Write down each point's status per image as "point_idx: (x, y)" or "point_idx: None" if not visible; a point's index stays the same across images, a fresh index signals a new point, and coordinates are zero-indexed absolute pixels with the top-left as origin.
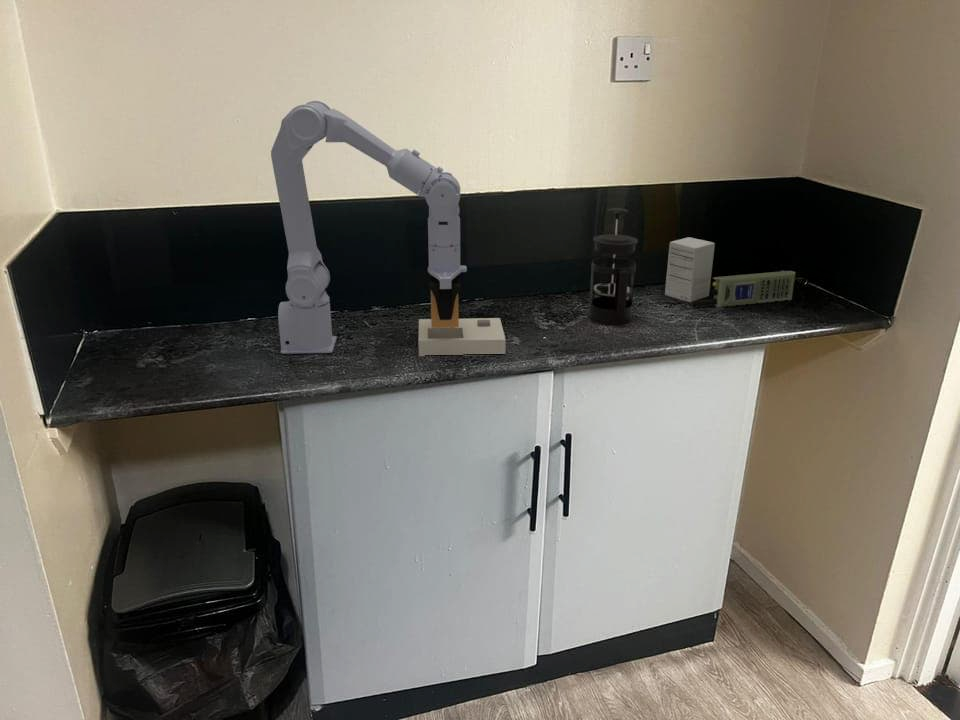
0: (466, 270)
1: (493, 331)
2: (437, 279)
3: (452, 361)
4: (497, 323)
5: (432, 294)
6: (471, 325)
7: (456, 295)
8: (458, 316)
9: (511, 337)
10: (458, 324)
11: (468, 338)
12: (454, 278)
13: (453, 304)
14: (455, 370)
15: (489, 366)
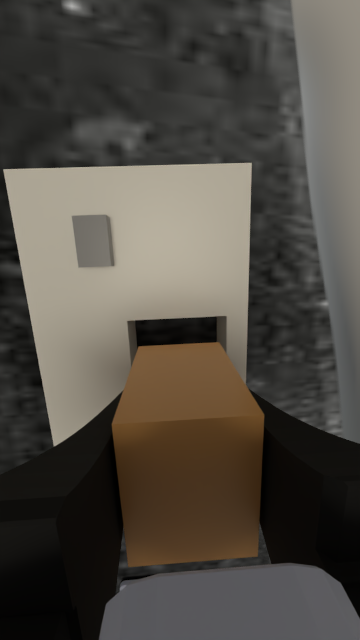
0: (333, 594)
1: (164, 206)
2: (100, 628)
3: (270, 334)
4: (72, 184)
5: (222, 551)
6: (103, 288)
7: (348, 441)
8: (228, 357)
9: (81, 147)
10: (220, 345)
11: (231, 299)
12: (80, 523)
13: (284, 414)
14: (329, 325)
15: (315, 236)
